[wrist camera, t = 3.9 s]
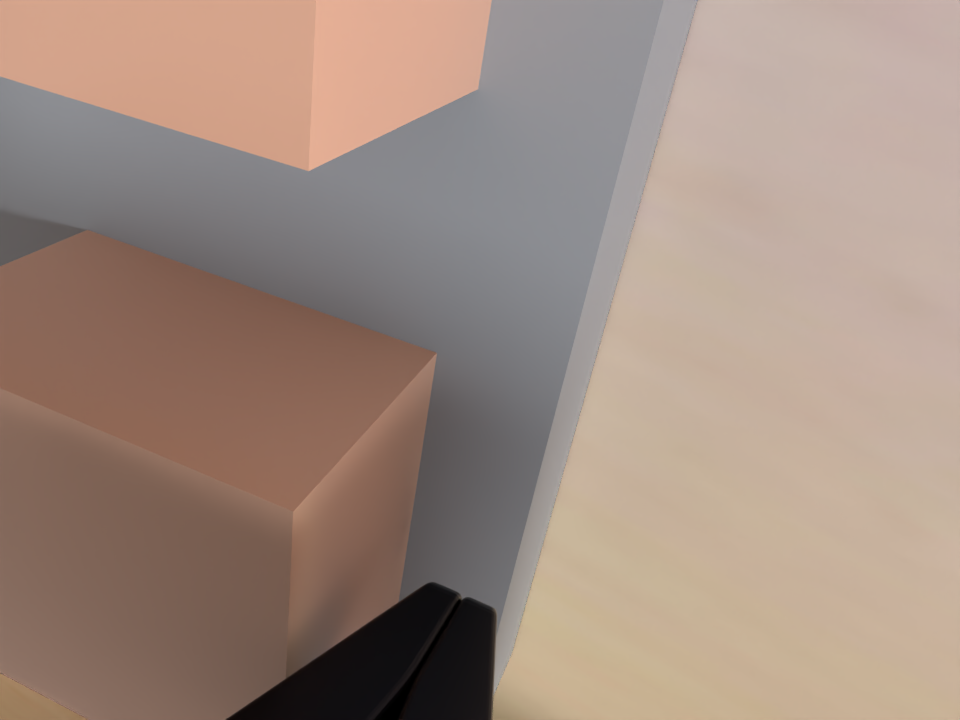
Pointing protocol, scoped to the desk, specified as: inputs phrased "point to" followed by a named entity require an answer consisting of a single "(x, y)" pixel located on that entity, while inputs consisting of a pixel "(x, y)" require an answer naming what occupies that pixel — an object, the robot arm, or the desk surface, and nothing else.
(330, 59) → the tile
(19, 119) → the bench board
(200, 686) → the tile
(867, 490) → the desk surface
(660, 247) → the desk surface
